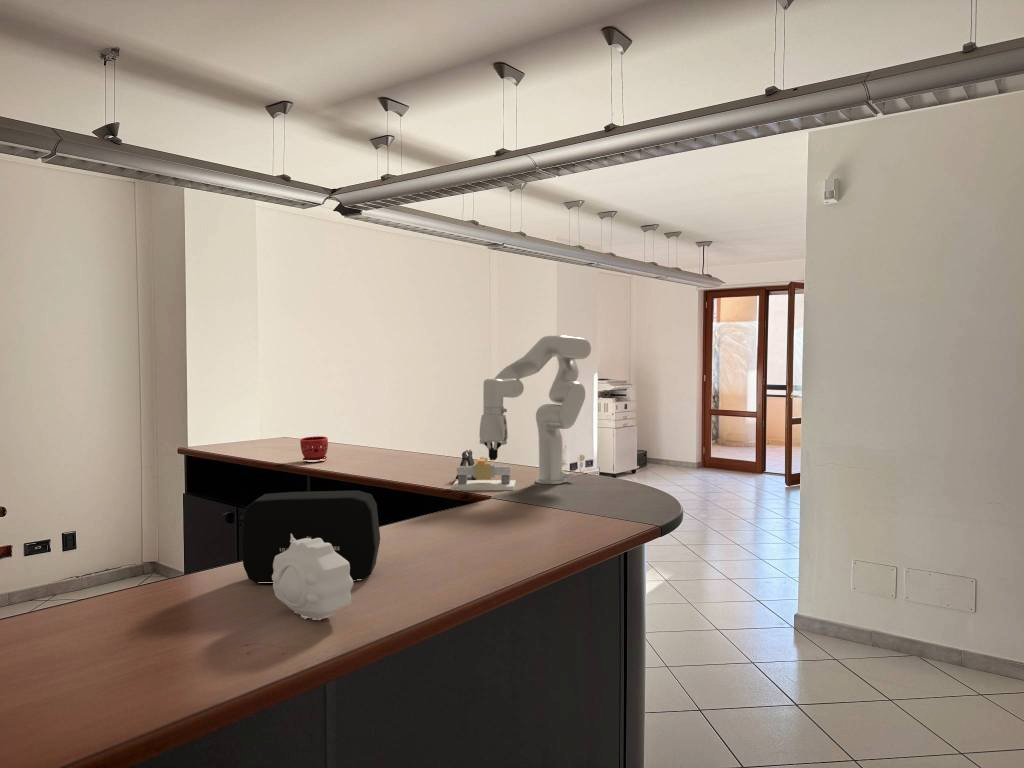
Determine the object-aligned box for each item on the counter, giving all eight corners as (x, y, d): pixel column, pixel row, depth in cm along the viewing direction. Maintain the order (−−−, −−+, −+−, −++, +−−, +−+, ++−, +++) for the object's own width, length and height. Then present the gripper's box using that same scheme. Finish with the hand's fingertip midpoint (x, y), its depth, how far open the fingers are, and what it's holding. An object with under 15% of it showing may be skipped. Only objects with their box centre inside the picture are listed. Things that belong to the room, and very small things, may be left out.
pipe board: (515, 483, 284) (515, 472, 283) (513, 490, 271) (513, 478, 271) (456, 484, 285) (456, 472, 285) (451, 490, 272) (451, 478, 272)
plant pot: (299, 461, 354) (298, 437, 354) (325, 459, 360) (325, 435, 359) (303, 464, 343) (302, 440, 342) (330, 462, 348) (329, 438, 347)
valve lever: (480, 460, 279) (480, 456, 279) (487, 460, 279) (487, 456, 279) (477, 465, 267) (476, 461, 267) (484, 465, 267) (484, 461, 266)
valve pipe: (511, 476, 280) (511, 460, 280) (510, 479, 274) (510, 462, 274) (458, 476, 282) (458, 460, 281) (456, 479, 276) (456, 462, 275)
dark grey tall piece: (479, 478, 299) (479, 449, 298) (476, 480, 293) (475, 451, 292) (459, 477, 300) (458, 449, 300) (455, 480, 295) (454, 451, 294)
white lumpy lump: (306, 600, 152) (304, 527, 151) (362, 619, 141) (360, 539, 140) (261, 616, 143) (258, 538, 142) (316, 637, 132) (313, 552, 131)
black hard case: (242, 587, 162) (239, 500, 161) (259, 570, 174) (256, 489, 173) (376, 582, 163) (374, 497, 162) (383, 566, 175) (381, 486, 174)
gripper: (515, 411, 268) (515, 459, 269) (478, 410, 273) (478, 457, 274) (508, 412, 261) (508, 462, 262) (471, 411, 266) (471, 460, 267)
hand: (493, 459), depth 268 cm, fingers closed
